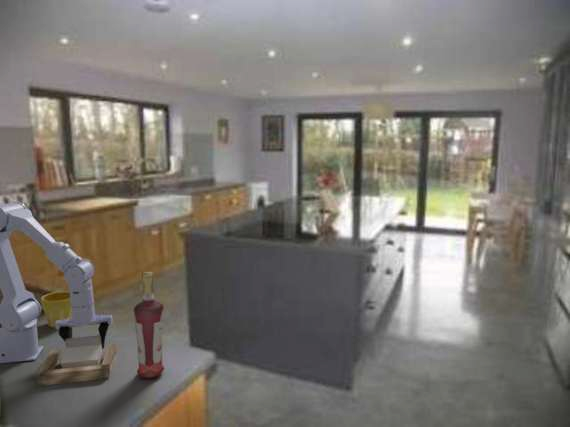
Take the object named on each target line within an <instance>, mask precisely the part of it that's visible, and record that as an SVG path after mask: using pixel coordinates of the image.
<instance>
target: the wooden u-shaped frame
mask: <svg viewBox="0 0 570 427" xmlns="http://www.w3.org/2000/svg"><path fill="white" fill-rule="evenodd" d="M105 351H106V352H105V355H104V356H103V359H102V364H100V365H95V366H85V367H74V368H64V369H62V368H57V367H58V364H59V363H60V360H62V359H61V357H62V356H61V348H54V349H51V351H50V352H49V354H48V355H47V357H46V359H45V360H44V362H43V363H42V365H41V366H40V369H39V370H38V371H37V373H36V386H37V387H39V386H40V387H41V386H50V385H59V384H61V385H62V384H67V383H77V382H78V383H79V382H88V381H89V380H90V381H97V379H100V380H108V379H110V377H111V373H112V370H113V368H114V364H115V361H114V360H116V357H117V355H118V354H117V343H112V344H111V343H110V344H108V346H107V349H106V350H105ZM107 378H108V379H107Z"/></svg>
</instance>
